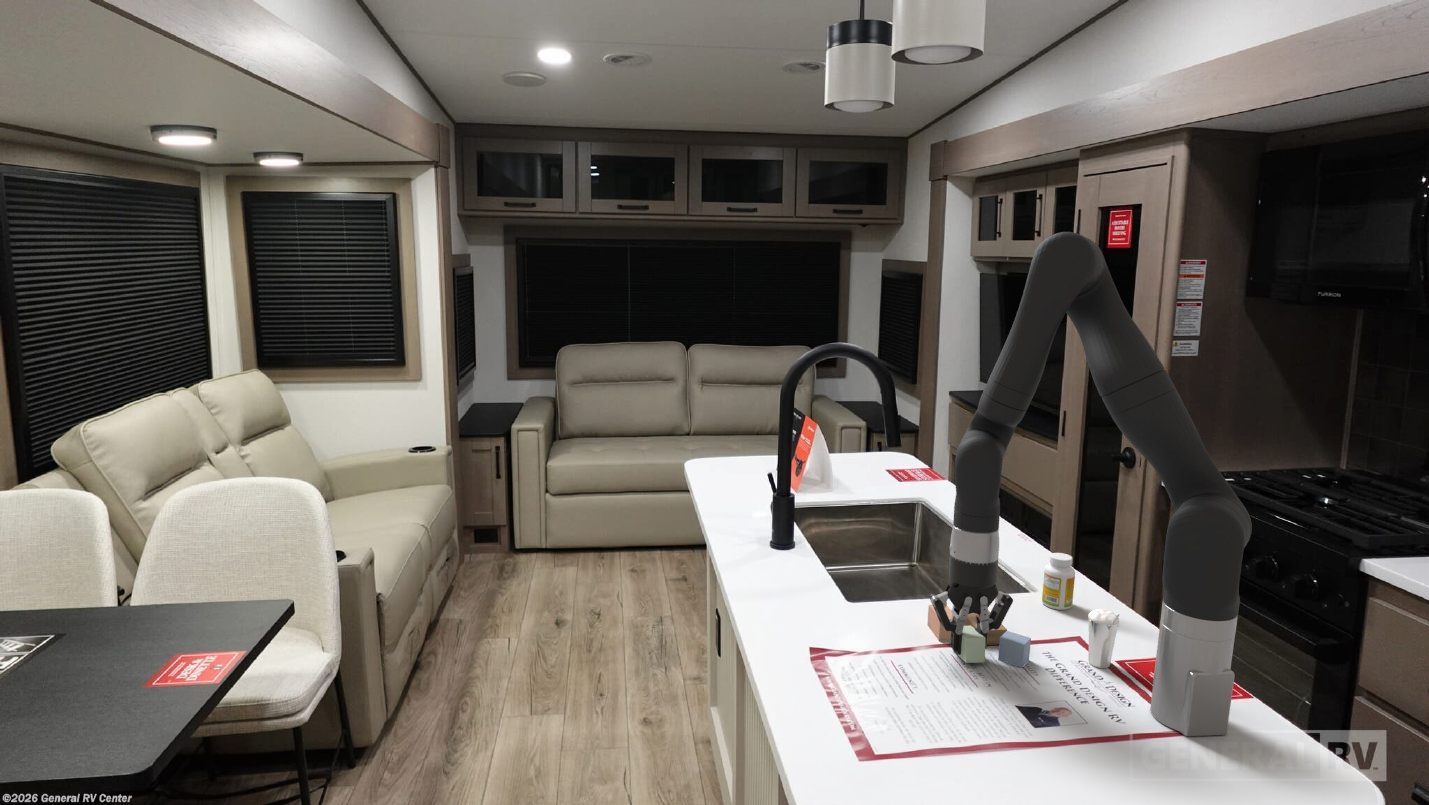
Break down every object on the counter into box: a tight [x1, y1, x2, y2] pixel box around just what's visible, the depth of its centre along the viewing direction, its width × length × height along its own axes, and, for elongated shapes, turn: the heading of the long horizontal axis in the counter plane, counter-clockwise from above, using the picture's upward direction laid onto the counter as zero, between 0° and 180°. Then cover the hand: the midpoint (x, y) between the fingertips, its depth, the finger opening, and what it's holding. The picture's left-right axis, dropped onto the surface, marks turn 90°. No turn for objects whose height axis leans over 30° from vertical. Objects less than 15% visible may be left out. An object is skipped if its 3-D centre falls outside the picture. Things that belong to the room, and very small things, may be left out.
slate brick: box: [997, 630, 1032, 668], centre depth 138 cm, size 4×3×4 cm
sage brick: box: [951, 626, 986, 664], centre depth 139 cm, size 6×3×4 cm, turn 5°
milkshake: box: [1087, 608, 1121, 669], centre depth 136 cm, size 4×5×10 cm
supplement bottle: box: [1041, 552, 1076, 611], centre depth 159 cm, size 5×5×10 cm
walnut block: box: [964, 609, 1008, 646], centre depth 148 cm, size 8×5×3 cm, turn 6°
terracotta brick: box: [926, 604, 952, 642], centre depth 148 cm, size 6×3×4 cm, turn 5°
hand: (967, 651), depth 139 cm, fingers closed on sage brick, 3 cm apart
